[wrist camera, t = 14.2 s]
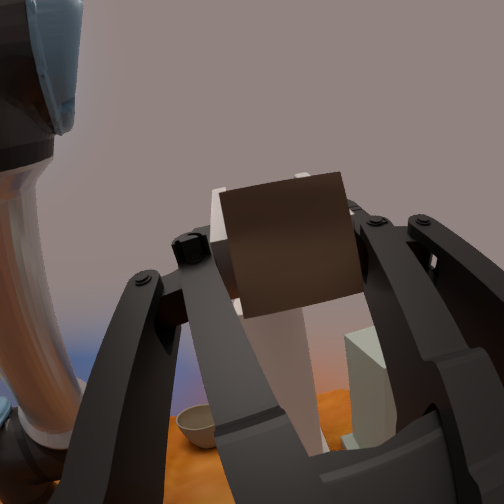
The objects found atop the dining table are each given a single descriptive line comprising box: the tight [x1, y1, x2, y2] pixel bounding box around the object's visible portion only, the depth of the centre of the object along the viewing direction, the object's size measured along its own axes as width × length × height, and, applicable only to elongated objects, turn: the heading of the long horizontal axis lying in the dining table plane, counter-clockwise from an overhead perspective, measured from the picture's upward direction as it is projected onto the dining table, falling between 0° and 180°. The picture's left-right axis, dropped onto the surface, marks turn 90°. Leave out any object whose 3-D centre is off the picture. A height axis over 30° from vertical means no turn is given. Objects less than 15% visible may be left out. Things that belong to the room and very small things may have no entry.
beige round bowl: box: [176, 404, 216, 449], centre depth 49 cm, size 10×10×7 cm
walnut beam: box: [219, 172, 364, 319], centre depth 21 cm, size 24×4×4 cm, turn 1°
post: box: [341, 326, 397, 450], centre depth 32 cm, size 16×12×22 cm
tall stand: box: [233, 298, 330, 457], centre depth 38 cm, size 16×12×30 cm
